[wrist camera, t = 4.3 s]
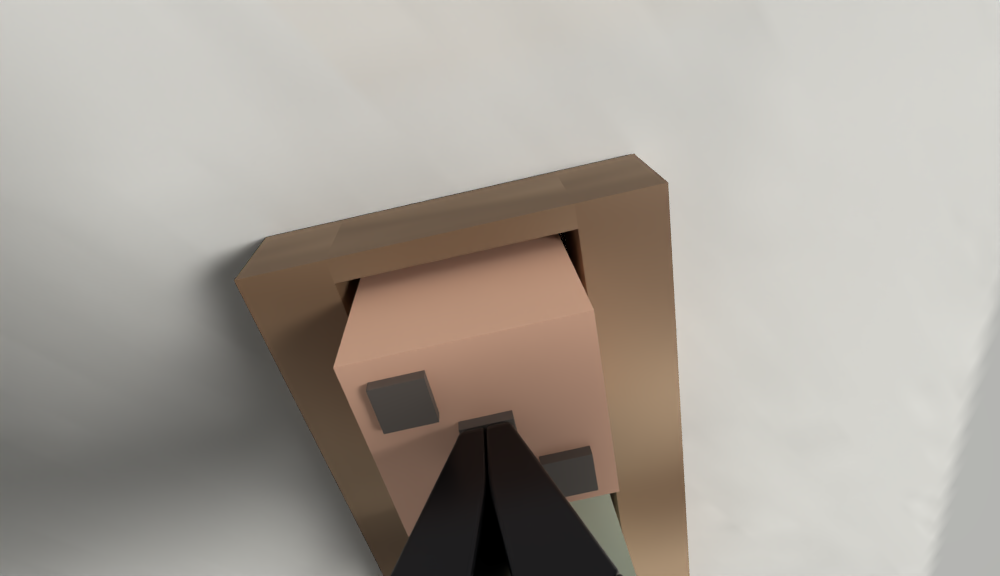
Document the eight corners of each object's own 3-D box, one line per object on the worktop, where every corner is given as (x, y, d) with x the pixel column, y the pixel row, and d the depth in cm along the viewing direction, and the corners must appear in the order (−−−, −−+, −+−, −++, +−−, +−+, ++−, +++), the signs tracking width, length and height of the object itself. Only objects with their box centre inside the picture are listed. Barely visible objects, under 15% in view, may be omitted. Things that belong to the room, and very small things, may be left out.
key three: (574, 362, 13) (622, 500, 10) (418, 396, 14) (407, 546, 10) (549, 214, 12) (597, 316, 8) (367, 255, 12) (330, 375, 8)
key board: (672, 612, 20) (694, 672, 18) (456, 657, 20) (457, 721, 18) (634, 153, 11) (667, 182, 10) (266, 237, 12) (233, 280, 10)
